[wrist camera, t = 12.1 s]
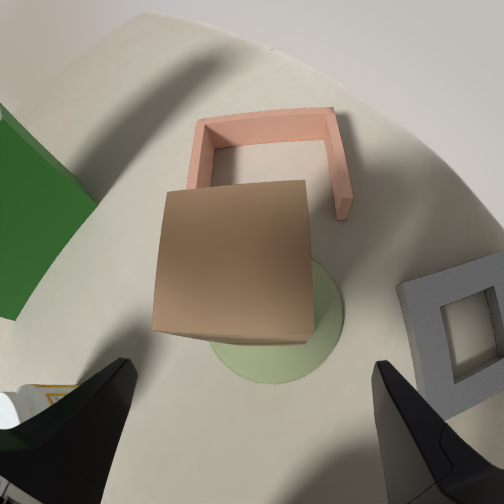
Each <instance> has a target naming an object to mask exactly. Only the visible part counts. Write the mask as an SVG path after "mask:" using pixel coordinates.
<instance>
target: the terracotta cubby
mask: <svg viewBox="0 0 504 504" xmlns="http://www.w3.org/2000/svg"><path fill="white" fill-rule="evenodd" d="M303 140H324V141H325V146H326V152H327V157H328V163H329V169H330V175H331V182H332V188H333V195H334V202H335V209H336V217H337V220H347V217H348V213H349V210H350V207H351V203H352V200H353V194H352V188H351V183H350V178H349V173H348V168H347V163H346V158H345V154H344V149H343V145H342V141H341V136H340V132H339V128H338V124H337V120H336V116H335V113H334V109H333V107H324V108H297V109H281V110H269V111H258V112H249V113H240V114H233V115H225V116H218V117H212V118H206V119H200V120H197V124H196V129H195V135H194V141H193V147H192V153H191V159H190V166H189V173H188V180H187V187H186V190H188V189H196V188H205V187H211V182H212V171H213V161H214V151H215V149H216V148H223V147H232V146H240V145H250V144H261V143H272V142H286V141H303Z"/></svg>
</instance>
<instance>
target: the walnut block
mask: <svg viewBox="0 0 504 504" xmlns="http://www.w3.org/2000/svg"><path fill="white" fill-rule="evenodd" d="M152 330H153V331H158V332H163V333H167V334H173V335H178V336H183V337H188V338H194V339H200V340H206V341H212V342H218V343H225V344H231V345H238V346H293V345H305V344H306V343H307V341H308V340H309V339H310V337H311V336H312V335H313V333H314V304H313V280H312V261H311V244H310V230H309V217H308V205H307V194H306V183H305V180H292V181H275V182H261V183H248V184H236V185H225V186H215V187H205V188H196V189H188V190H179V191H171V192H167V197H166V203H165V209H164V216H163V222H162V229H161V237H160V244H159V252H158V261H157V270H156V280H155V290H154V302H153V315H152Z"/></svg>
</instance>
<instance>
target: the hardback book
mask: <svg viewBox="0 0 504 504" xmlns="http://www.w3.org/2000/svg"><path fill="white" fill-rule="evenodd" d="M97 206H98V205H97V204H96V202H95V201H94V200H93V199H92V197H91V196H90V195H89V194H88V192H87V191H86V190H85V189H84V187H83V186H82V185H81V183H80V182H79V181H78V180H77V178H76V177H75V176H74V175H73V174H72V173H71V172H70V171H69V170H68V169H67V168H65V167H64V166H63V165H62V164H61V163H60V162H59V161H58V160H57V159H56V158H55V157H54V156H53V155H52V154H51V153H50V152H48V151H47V150H46V149H45V148H44V147H43V146H42V145H41V144H40V143H39V142H38V141H37V140H36V139H35V138H34V137H33V136H32V135H31V134H30V133H29V132H28V131H27V130H26V129H25V128H24V127H23V126H22V125H21V124H20V123H19V122H18V121H17V120H16V119H15V118H14V117H13V116H12V115H11V114H10V113H9V111H8V110H7V109H6V108H5V107H4V106H3V105H2V104H1V103H0V317H3V318H6V319H10V320H14V321H15V320H16V319H17V317H18V315H19V313H20V312H21V310H22V308H23V307H24V305H25V304H26V302H27V300H28V299H29V297H30V296H31V294H32V292H33V291H34V289H35V288H36V286H37V285H38V283H39V282H40V280H41V279H42V277H43V276H44V274H45V273H46V271H47V270H48V269H49V267H50V266H51V264H52V263H53V262H54V260H55V259H56V257H57V256H58V255H59V253H60V252H61V251H62V249H63V248H64V247H65V245H66V244H67V243H68V241H69V240H70V239H71V238H72V236H73V235H74V234H75V233H76V231H77V230H78V229H79V228H80V226H81V225H82V224H83V223H84V221H85V220H86V219H87V218H88V217H89V215H90V214H91V213H92V212H93V211H94V210H95V208H96V207H97Z"/></svg>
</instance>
